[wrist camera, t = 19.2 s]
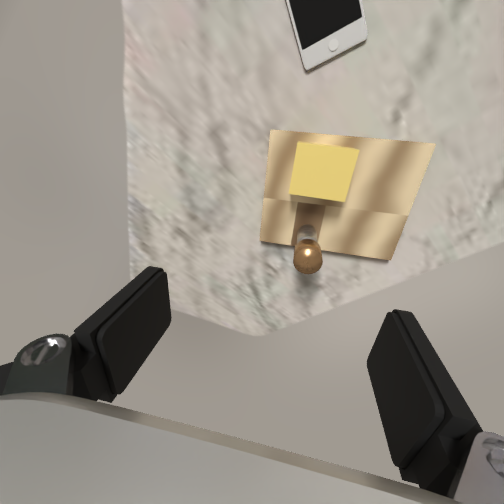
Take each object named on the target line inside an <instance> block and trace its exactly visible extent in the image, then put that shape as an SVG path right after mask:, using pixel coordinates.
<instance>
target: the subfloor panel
mask: <svg viewBox="0 0 504 504" xmlns="http://www.w3.org/2000/svg"><path fill="white" fill-rule="evenodd" d="M298 141H300V142H308V143H317V144H325V145H333V146H342V147H350V148H355V149H358V150H360V151H359V154H358V158H357V161H356V165H355V168H354V172H353V175H352V179H351V182H350V186H349V189H348V193H347V196H346V200H345V202H341V201H334V200H325V199H318V198H312V197H305V196H298V195H293V194H289V188H290V183H291V177H292V171H293V165H294V159H295V154H296V148H297V142H298ZM435 146H436V144H433V143H421V142H409V141H398V140H386V139H374V138H363V137H351V136H340V135H328V134H316V133H305V132H293V131H281V130H271V131H270V141H269V151H268V161H267V171H266V181H265V191H264V201H263V211H262V221H261V231H260V241H265V242H272V243H278V244H285V245H292V246H296V244H297V235H298V229H299V228H300V227H301V226H303V225H306V224H309V225H312V226H313V227H314V228H315V229H316V233H317V241H318V244H319V245H320V247H321V250H325V251H332V252H338V253H345V254H351V255H358V256H365V257H371V258H378V259H385V260H391V259H392V256H393V254H394V251H395V248H396V246H397V243H398V241H399V238H400V236H401V233H402V230H403V228H404V225H405V223H406V220H407V218H408V215H409V213H410V210H411V207H412V205H413V202H414V200H415V197H416V195H417V192H418V189H419V187H420V184H421V182H422V179H423V177H424V174H425V172H426V169H427V166H428V164H429V161H430V159H431V156H432V154H433V151H434V148H435Z"/></svg>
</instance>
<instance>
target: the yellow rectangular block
mask: <svg viewBox="0 0 504 504" xmlns="http://www.w3.org/2000/svg"><path fill="white" fill-rule="evenodd" d="M359 151H360V150H358V149H355V148H350V147H342V146H333V145H325V144H317V143H308V142H300V141H298V142H297V148H296V154H295V159H294V165H293V171H292V177H291V183H290V188H289V194H293V195H298V196H305V197H312V198H318V199H325V200H334V201H341V202H345V200H346V196H347V193H348V189H349V186H350V182H351V179H352V175H353V172H354V168H355V165H356V161H357V158H358V154H359Z"/></svg>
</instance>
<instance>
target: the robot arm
mask: <svg viewBox="0 0 504 504" xmlns="http://www.w3.org/2000/svg"><path fill="white" fill-rule="evenodd" d="M170 322H171V309H170V300H169V290H168V280H167V273H166V272H164V270H163V269H162V268H158V267H152V266H149V267H147V268H146V269H145V270H144V271H142V272H141V273H140V274H139V275H138V276H137V277H135V278H134V279H133V280H132V281H131V282H130V283H128V284H127V285H126V286H125V287H124V288H123V289H121V291H119V292H118V293H117V294H116V295H114V296H113V297H112V298H111V299H110V300H109V301H108V302H106V303H105V304H104V305H103V306H102V307H101V308H99V309H98V310H97V311H96V312H95V313H94V314H93V315H91V316H90V317H89V318H88V319H87V320H85V321H84V322H83V323H82V324H81V325H80V326H79V327H77V328H76V329H75V330H74V332H75V333H74V334H73V335H72V336H71V337H69V336H68V335H65V334H52V335H47V336H44V337H41V338H38V339H36V340H34V341H32V342H30V343H29V344H28V345H26V346H25V347H23V348H22V349H21V350H20V352H18V354H17V355H16V357H15V359H14V362H11V363H8V364H5V365H2V366H0V504H504V437H503V436H501V435H498V434H496V433H492V432H483V430H482V429H481V427H480V425H479V424H478V422H477V420H476V418H475V417H474V415H473V413H472V412H471V410H470V408H469V407H468V405H467V403H466V402H465V400H464V398H463V396H462V395H461V393H460V391H459V390H458V388H457V387H456V385H455V383H454V382H453V380H452V378H451V377H450V375H449V373H448V372H447V370H446V368H445V366H444V365H443V363H442V361H441V360H440V358H439V356H438V355H437V353H436V352H435V350H434V348H433V347H432V345H431V343H430V341H429V340H428V338H427V336H426V335H425V333H424V331H423V330H422V328H421V326H420V325H419V323H418V321H417V320H416V318H415V317H414V315H413V313H412V312H408V311H402V310H396V309H395V310H393V311H392V312H388V313H387V315H386V317H385V319H384V322H383V324H382V326H381V329H380V331H379V333H378V335H377V338H376V340H375V343H374V345H373V347H372V349H371V352H370V354H369V356H368V359H367V368H368V372H369V376H370V380H371V383H372V387H373V390H374V394H375V398H376V402H377V406H378V409H379V413H380V417H381V421H382V424H383V428H384V432H385V435H386V439H387V443H388V447H389V451H390V454H391V458H392V461H393V463H394V465H395V466H397V467H399V470H400V474H401V477H402V480H404V481H408V482H412V483H416V484H419V487H420V488H417V487H414V486H410V485H407V484H404V483H400V482H397V481H393V480H390V479H386V478H383V477H380V476H376V475H373V474H369V473H366V472H362V471H359V470H355V469H351V468H347V467H344V466H340V465H336V464H333V463H329V462H325V461H322V460H318V459H314V458H311V457H307V456H303V455H300V454H296V453H292V452H289V451H285V450H281V449H277V448H274V447H270V446H266V445H263V444H259V443H255V442H251V441H247V440H243V439H240V438H237V437H233V436H229V435H225V434H221V433H218V432H214V431H210V430H206V429H203V428H199V427H195V426H191V425H187V424H184V423H180V422H176V421H172V420H168V419H164V418H160V417H157V416H153V415H149V414H145V413H141V412H138V411H133V410H130V409H126V408H122V407H118V406H113V405H110V404H105V403H101V402H97V400H98V399H99V400H103V401H107V402H110V403H112V401H113V400H114V399H115V397H116V396H117V394H121V393H122V392H123V391H124V390H125V388H126V387H127V385H128V384H129V383H130V381H131V380H132V378H133V377H134V376H135V374H136V373H137V371H138V370H139V368H140V367H141V366H142V364H143V363H144V361H145V360H146V358H147V357H148V355H149V354H150V353H151V351H152V350H153V348H154V347H155V345H156V344H157V343H158V341H159V340H160V338H161V337H162V335H163V334H164V333H165V331H166V330H167V328H168V327H169V325H170Z"/></svg>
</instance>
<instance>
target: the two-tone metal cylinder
mask: <svg viewBox="0 0 504 504" xmlns="http://www.w3.org/2000/svg"><path fill="white" fill-rule="evenodd" d="M322 262H323V261H322V254H321V247H320V245H319V244H318V241H317V233H316V229H315V228H314V227H313V226H312V225H309V224H306V225H303V226H301V227H300V228H299V229H298V235H297V244H296V246H295V248H294V259H293V263H294V266H295V268H296V269H297V270H298V271H299V272H301V273H304V274H312V273H315V272H317V271H318V270H319V269H320V268H321V266H322Z"/></svg>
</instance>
